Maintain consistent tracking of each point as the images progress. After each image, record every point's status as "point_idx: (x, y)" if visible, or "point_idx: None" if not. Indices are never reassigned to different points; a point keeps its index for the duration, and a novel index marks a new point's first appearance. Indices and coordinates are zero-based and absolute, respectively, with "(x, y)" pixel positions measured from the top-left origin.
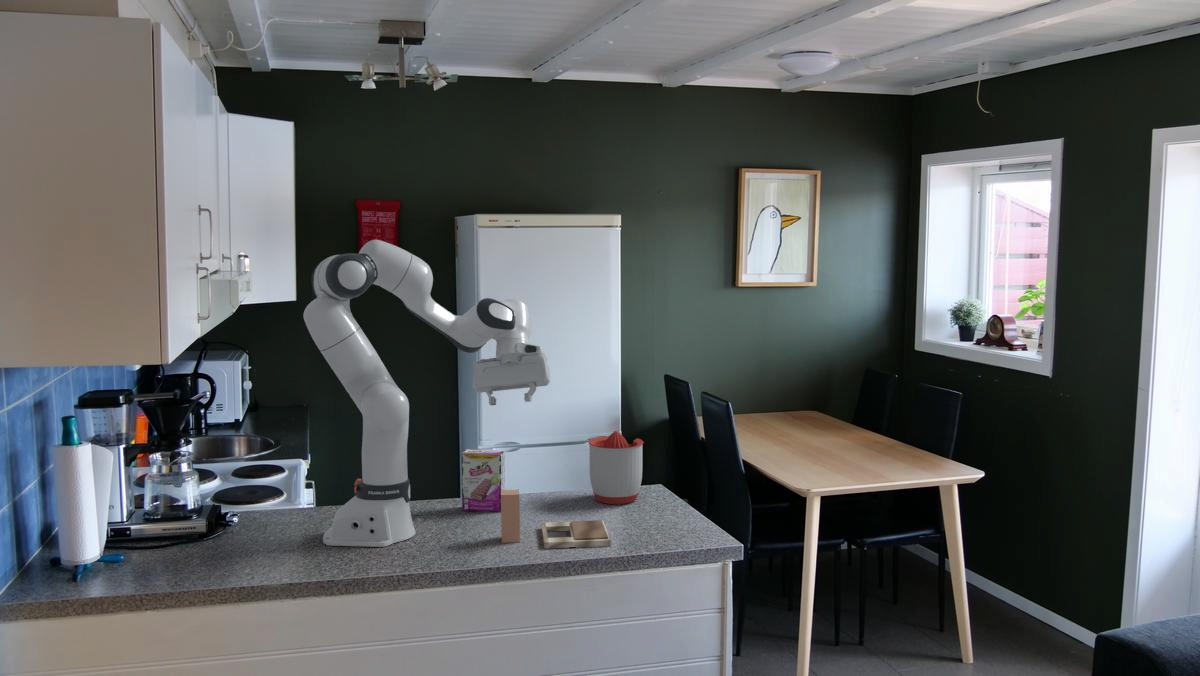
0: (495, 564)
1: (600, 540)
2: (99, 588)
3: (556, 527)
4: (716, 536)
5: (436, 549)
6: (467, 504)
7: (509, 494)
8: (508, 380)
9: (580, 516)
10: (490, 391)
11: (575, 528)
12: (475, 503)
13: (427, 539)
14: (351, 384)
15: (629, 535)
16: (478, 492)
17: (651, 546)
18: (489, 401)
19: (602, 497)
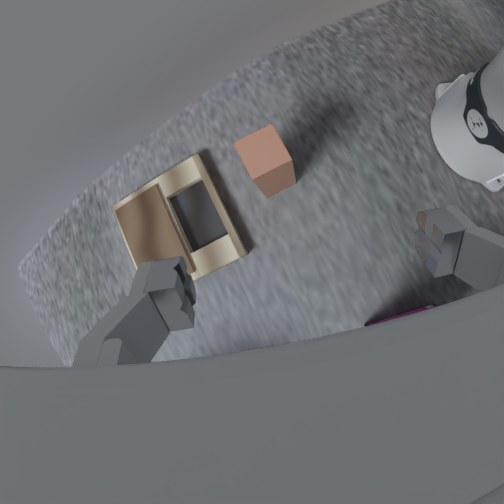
0: (243, 73)
1: (123, 199)
2: None
3: (211, 243)
4: (32, 295)
5: (363, 96)
6: (428, 307)
7: (255, 134)
8: (376, 351)
9: (210, 343)
10: (502, 271)
11: (171, 234)
12: (415, 312)
13: (406, 133)
14: None
15: (108, 266)
16: None
17: (75, 229)
18: (451, 205)
19: None
